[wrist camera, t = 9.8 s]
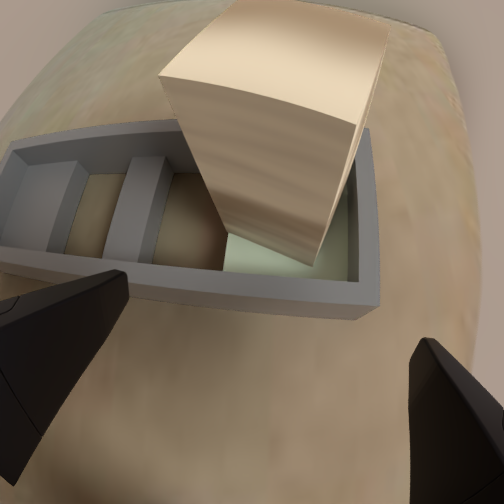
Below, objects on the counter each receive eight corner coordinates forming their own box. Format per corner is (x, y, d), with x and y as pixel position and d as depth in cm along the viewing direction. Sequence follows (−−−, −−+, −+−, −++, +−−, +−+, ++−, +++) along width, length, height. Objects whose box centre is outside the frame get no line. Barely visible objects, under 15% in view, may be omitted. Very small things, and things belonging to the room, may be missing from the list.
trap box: (355, 320, 17) (379, 306, 13) (2, 272, 20) (-34, 254, 16) (354, 171, 20) (369, 128, 16) (37, 168, 23) (11, 141, 19)
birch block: (312, 267, 16) (356, 125, 6) (226, 231, 17) (157, 75, 7) (343, 189, 17) (391, 25, 7) (264, 160, 18) (244, -6, 8)
